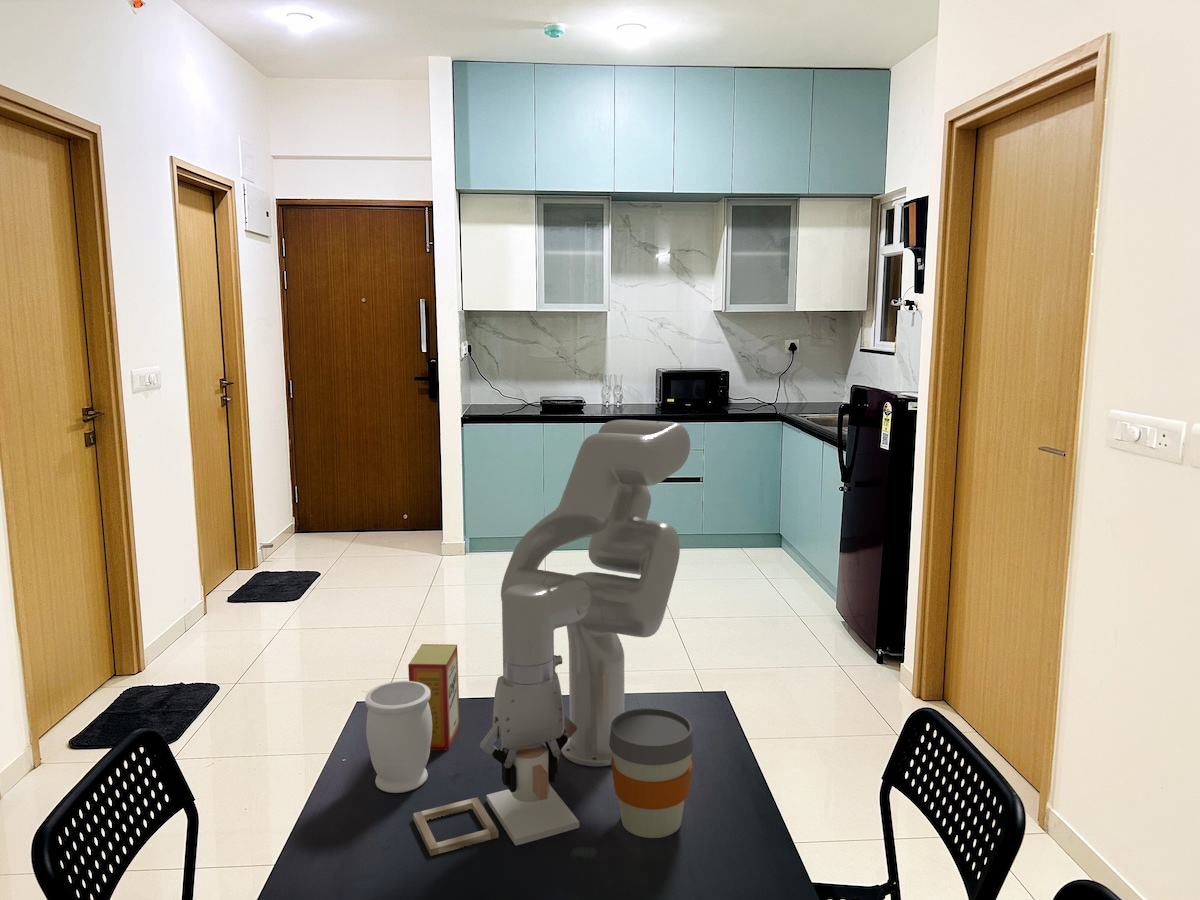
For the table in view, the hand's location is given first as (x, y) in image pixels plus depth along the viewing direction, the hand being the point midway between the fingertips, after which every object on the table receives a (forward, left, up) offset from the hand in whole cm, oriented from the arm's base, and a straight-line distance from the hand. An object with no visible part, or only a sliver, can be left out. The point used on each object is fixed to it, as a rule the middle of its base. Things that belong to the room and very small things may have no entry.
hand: (529, 782), depth 130 cm
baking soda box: (+6, -31, -6) cm, 32 cm away
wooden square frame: (+11, -2, -5) cm, 13 cm away
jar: (+15, -19, -6) cm, 25 cm away
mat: (0, 0, -5) cm, 5 cm away
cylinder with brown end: (0, +1, -1) cm, 2 cm away
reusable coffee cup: (-16, +9, -6) cm, 19 cm away
